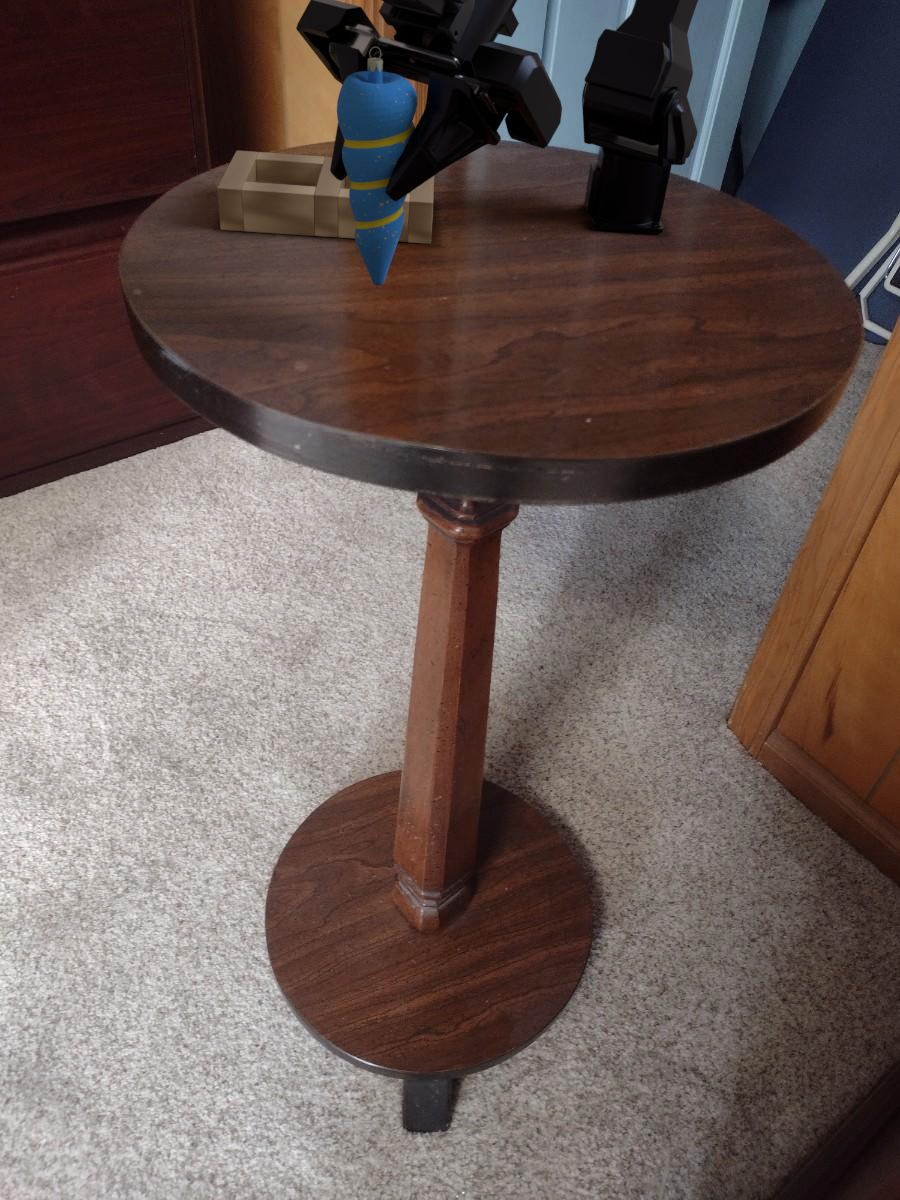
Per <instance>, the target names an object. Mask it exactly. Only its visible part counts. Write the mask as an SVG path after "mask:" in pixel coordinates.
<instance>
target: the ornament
mask: <svg viewBox="0 0 900 1200" xmlns="http://www.w3.org/2000/svg"><path fill="white" fill-rule="evenodd" d="M373 48H378V47H373ZM373 48H372V49H373ZM372 49H371V50H372ZM371 50H370V51H371ZM379 50H380V49H379ZM380 53H381V50H380ZM369 55H370V52H369ZM380 57H381V54H380ZM380 57H379V58H371V56H370V58H368V71H362V72H356V73H353V74H351V75H349V76H348V77H347V78H346V79H345V81H344V83H343V85H342V84H341V87H340V90H339V93H338V97H337V102H336V103H337V104H336V118H337V123H338V122H339V126H340V129H341V132H342V134H343V137H344V140H345V142H344V145H343V149H342V159H343V163H344V166H345V169H346V172H347V174H348V177H349V179H350V182H351V187H350V191H349V200H350V205H351V208H352V212H353V214H354V217H355V220H356V223H357V225H356V229H355V244H356V246H357V249H358V251H359V253H360V256H361V258H362V261H363V263H364V265H365V267H366V269H367V272H368V274H369V276H370V279H371V282H372V284H373V285H375V286H378V287H379V286H382V285H384V283H385V281H386V278H387V275H388V272H389V268H390V266H391V263H392V261H393V257H394V254H395V252H396V249H397V246H398V243H399V242H398V240H399V237H400V234H401V231H402V227H403V221H404V210H403V203H404V201H405V198H406V196H407V195H405V196H404V197H402V198H401V199H399V200H398V201H393V200H391V199H390V198H389V197H388V195H387V194H386V192H385V190H386V187H387V184H388V182H389V179H390V177H391V174H392V172H393V170H394V168H395V166H396V164H397V162H398V160H399V158H400V156H401V154H402V152H403V150H404V149H405V147H406V145H407V143H408V141H409V139H410V137H411V135H412V133H413V132H414V130H415V128H416V125H415V124H414V118H415V115H416V112H417V109H418V94H417V91H416V89H415V88H414V86H413V84H412V83H411V82H410V81H409V79H407V78H404V77H402V76H400V75H398V74H394V73H388V72H382V70H383V60H382V59H380Z"/></svg>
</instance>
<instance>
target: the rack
mask: <svg viewBox="0 0 900 1200" xmlns="http://www.w3.org/2000/svg"><path fill="white" fill-rule="evenodd" d="M331 161H332V156H322V155H321V156H320V155H309V154H308V155H307V154H295V153H294V154H291V153H278V152H263V151H253V150H252V151H251V150H250V151H249V150H236V151H235V153H234V155H233V157H232V158H231V160H230V163H229V165H228V166H227V168H226V170H225V173H224V174H223V176H222V177H221V180H220V181H219V183H218V185H217V187H216V193H217V205H218V216H219V226H220V227H219V228H220V230H221V231H232V232H233V231H234V232H249V233H262V234H279V235H291V236H292V235H293V236H305V237H306V236H309V237H323V238H324V237H325V238H341V239H355V229H356V225H357V223H356V220H355V217H354V214H353V212H352V208H351V205H350V200H349V191H350V187H351V182H350V179H349V177H348V175H347V176H346V177H345V178H344V179H343V180H342V181H340V180H338V179H336V178H335V177H334V176H333V174H332V173H331V171H330V167H331ZM434 192H435V175H434V176H433V177H431V178H430V179H429V180H427V181H426V182H424V183H423V184H421V185H420V186H418V187H417V188H415V189H414V190H413V191H411V192H410V193H408V194H407V196H406V198H405V201H404V203H403V210H404V221H403V227H402V231H401V234H400V237H399V240H398V243H400V242H401V243H413V244H423V245H424V244H426V245H431V244H432V231H433V217H434V216H433V214H434V196H435V195H434V194H435V193H434Z"/></svg>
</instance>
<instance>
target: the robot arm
mask: <svg viewBox="0 0 900 1200" xmlns="http://www.w3.org/2000/svg"><path fill="white" fill-rule="evenodd" d="M381 1H382V4H381V7H380V8H379V10H378V13H379V14H380V16H381V18H382V19H383V21H384V23H386V25H387V26H391V27H392V28H393V30H394V31H395V32H394V35H393V39H392V38H388V37H385V36H381V34H380V33H379V31H378V30H377V29H376V27H375V25H374V24H373V22H372V21H371V19H370V18H369V16H368V15H367V14H366V12H365V10H364V9H363V7H362V6H360V5H356V4H353V3H347V2H344V1H340V0H309V2H308V4H307V5H306V7H305V10H304V11H303V13H302V15H301V17H300V19H299V20H298V22H297V24H296V27H295V29H296V31H297V32H298V34H299V35H300V36H301V37H302V38H303V40H304V41H305V42H306V44H307V45H308V47H309V48H310V49H311V50H312V51H313V52H314V54H315V55H316V57H317V58H318V59H319V61H320V62H321V63H322V64H323V65H324V67H325V68H326V69H327V71H328V72H329V73H330V74H331V76H332V77H333V78H334V80H336V81H337V83H340V84H341V86H342V85H343V83H344V81H345V79H346V78H347V77H348V76H349V75H351V74H353V73H356V72H362V71H368V58H370V56H371V58H379V57H380V54H381V57H380V59H382V60H383V70H382V72H388V73H394V74H398V75H400V76H402V77H404V78H405V79H406V80H411V81H414V82H417V83H420V84H424V85H427V91H426V100H425V108H424V111H423V113H422V114H421V116H420V119H419V120H418V122H417V124H416V125H415V130H414V132H413V133H412V135H411V137H410V139H409V141H408V143H407V145H406V147H405V149H404V150H403V152H402V154H401V156H400V158H399V160H398V162H397V164H396V166H395V168H394V170H393V172H392V174H391V177H390V179H389V182H388V184H387V187H386V190H385V192H386V194H387V195H388V197H389V198H390V199H391V200H393V201H398V200H399V199H401V198H402V197H404V196H405V195H407V194H408V193H410V192H411V191H413V190H414V189H415V188H417V187H418V186H420V185H421V184H423V183H424V182H426V181H427V180H429V179H430V178H431V177H433V176H434V177H435V176H436V175H437V174H439V173H440V172H442V171H443V170H445V169H446V168H448V167H449V166H452V165H453V164H454V163H456V162H458V161H460V160H461V159H464V158H465V157H467V156H469V155H470V154H472V153H475V151H478V150H479V149H481V148H483V147H484V146H488V145H489V146H493V147H494V146H497V145H498V144H499V143H500V142H501V139H502V137H501V135H500V134H499V131H498V130H499V128H500V126H501V125H502V122H503V121H504V123H505V126H506V131H507V133H508V136H509V137H510V139H512V140H515V141H518V142H521V143H524V144H527V145H531V146H534V147H537V148H540V149H545V148H546V147H548V146H549V144H550V143H551V141H552V139H553V137H554V135H555V133H556V131H557V130H558V129H559V126H560V124H561V120H562V113H563V106H562V102H561V99H560V97H559V94H558V93H557V91H556V89H555V86H554V84H553V82H552V80H551V78H550V75H549V74H548V72H547V69H546V68H545V66H544V64H543V62H542V60H541V57H540V56H539V52H535V51H532V50H527V49H523V48H520V47H516V46H512V45H508V44H504V43H500V42H497V41H496V39H497V37H498V36H499V35H502V36H504V37H508V38H512V37H513V35H514V33H516V31H517V28H518V27H519V24H520V22H519V20H518V18H517V17H516V15H515V13H514V10H513V9H514V7H515V6H516V4H517V2H518V0H381ZM698 2H699V0H635V1H634V4H633V8H632V10H631V12H630V14H629V16H627V17H626V18H625V20H624V21H623V22H621V24H620V25H618V27H617V28H615V29H610V28H605V29H603V31H602V33H600V35H599V37H598V38H597V41H596V46H595V50H594V55H593V59H592V61H591V64H590V67H589V69H588V71H587V72H586V73H587V74H586V75H585V77H584V82H585V83H584V85H583V90H582V95H581V105H582V125H583V142H584V144H587V145H594V146H597V147H598V152H597V153H598V154H597V159H593V160H592V161H590V165H589V170H588V171H589V172H588V176H587V177H588V178H587V183H586V190H585V196H584V203H583V204H584V209H585V212H586V214H587V215H588V216H589V218H590V223H591V226H592V228H594V229H597V230H608V231H621V232H622V231H623V232H624V231H625V232H639V233H652V234H653V233H654V234H661V233H664V228H665V227H664V224H663V222H662V219H661V218H662V213H663V207H664V204H665V199H666V194H667V190H668V185H669V179H670V175H671V170H672V167H673V166H683V165H685V164H686V159H688V158H689V157H690V155H691V153H692V151H693V149H694V146H695V143H696V140H697V136H698V128H697V125H696V121H695V118H694V115H693V113H692V109H691V105H690V102H689V99H688V94H689V90H690V87H691V84H692V79H693V75H694V70H693V63H692V56H691V49H690V43H689V36H688V32H689V29H690V26H691V22H692V20H693V16H694V14H695V11H696V8H697V6H698ZM373 47H378V48H373ZM372 48H373V49H372ZM371 49H372V50H371ZM379 49H380V50H381V53H380V50H379ZM370 50H371V51H370ZM369 52H370V55H369ZM334 138H335V139H334V143H333V151H332V154H331V155H332V156H331V157H332V161H331V167H330V171H331V173H332V174H333V176H334V177H335V178H336V179H338V180H340V181H342V180H343V179H344V178H345V177H346V176H347V175H348V174H347V172H346V169H345V166H344V163H343V159H342V149H343V145H344V142H345V140H344V137H343V134H342V132H341V129H340V126H339V122H338V121H337V126H336V133H335V137H334Z"/></svg>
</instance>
